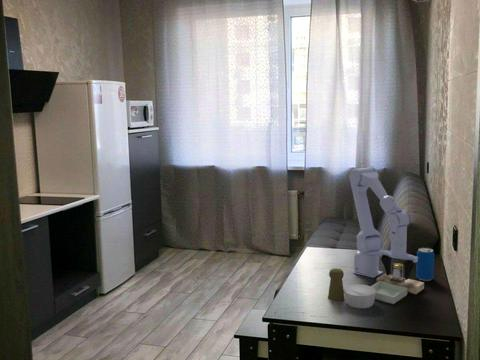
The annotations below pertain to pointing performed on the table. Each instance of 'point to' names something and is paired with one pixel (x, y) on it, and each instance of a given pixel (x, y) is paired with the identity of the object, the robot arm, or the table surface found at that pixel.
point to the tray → (389, 292)
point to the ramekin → (359, 296)
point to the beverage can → (425, 264)
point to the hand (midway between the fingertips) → (397, 276)
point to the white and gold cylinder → (397, 272)
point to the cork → (336, 285)
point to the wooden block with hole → (403, 283)
